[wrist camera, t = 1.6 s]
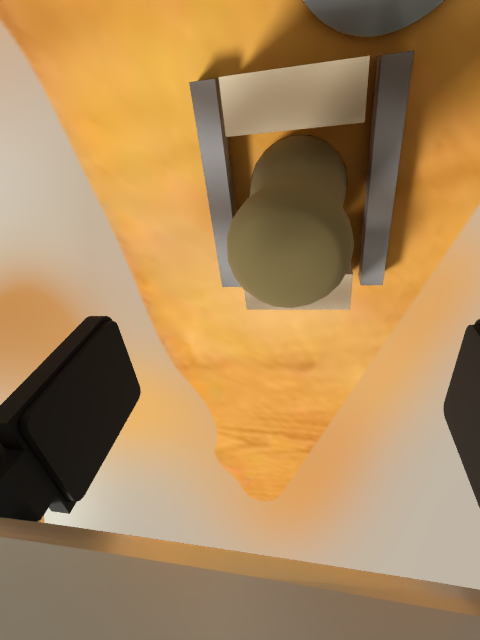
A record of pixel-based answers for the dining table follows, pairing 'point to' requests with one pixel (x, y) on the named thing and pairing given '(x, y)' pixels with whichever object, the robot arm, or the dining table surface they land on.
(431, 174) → the dining table surface
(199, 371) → the dining table surface
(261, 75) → the grey and cream frame
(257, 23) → the dining table surface
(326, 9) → the coaster
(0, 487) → the robot arm
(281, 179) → the pepper mill
